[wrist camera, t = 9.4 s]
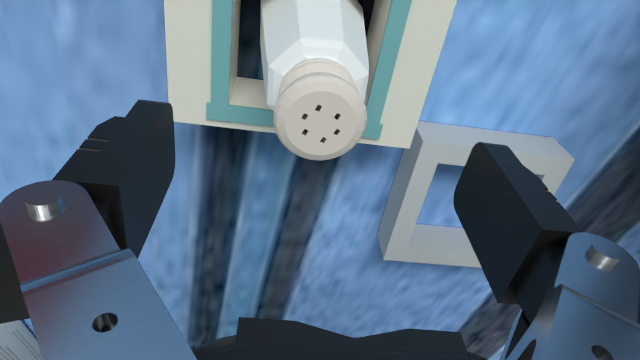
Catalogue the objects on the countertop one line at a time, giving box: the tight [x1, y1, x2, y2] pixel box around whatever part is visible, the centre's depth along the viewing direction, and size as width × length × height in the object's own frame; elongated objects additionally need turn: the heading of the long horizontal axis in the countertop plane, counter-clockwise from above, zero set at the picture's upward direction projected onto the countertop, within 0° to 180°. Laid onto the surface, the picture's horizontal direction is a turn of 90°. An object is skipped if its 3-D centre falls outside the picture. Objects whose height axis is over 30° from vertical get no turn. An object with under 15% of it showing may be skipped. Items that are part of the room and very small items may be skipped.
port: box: [164, 0, 457, 149], centre depth 20 cm, size 12×9×4 cm
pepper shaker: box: [260, 0, 369, 161], centre depth 17 cm, size 5×5×11 cm
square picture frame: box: [377, 121, 575, 268], centre depth 27 cm, size 9×9×2 cm
